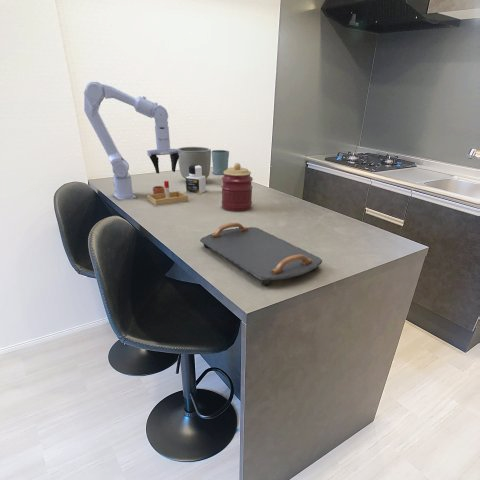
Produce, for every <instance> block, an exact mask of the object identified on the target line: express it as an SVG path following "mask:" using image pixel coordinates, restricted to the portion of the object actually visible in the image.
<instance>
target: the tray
mask: <svg viewBox="0 0 480 480" xmlns="http://www.w3.org/2000/svg"><path fill="white" fill-rule="evenodd" d="M169 195H170V198H167V199H166V194H165V193H160V194H153V193H151V194H147V201H149V202H150V203H152V204H153V205H155V206H162V205H167V204H175V203H181V202H183V203H184V202H188V201H189V199H188V198H189V197H188V195H187V194H184V193H183V192H181V191H179V190H178V191H177V190H176V191H169Z"/></svg>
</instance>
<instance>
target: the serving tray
mask: <svg viewBox="0 0 480 480" xmlns="http://www.w3.org/2000/svg"><path fill="white" fill-rule="evenodd" d="M199 242H200V243H201V244H203V247H204V248H205V249H211V250H212V251H214V252H216V253H217V254H219V255H220V256H222V257H224V258H225V259H226V260H228V261H230V262H232V264H234V265H236V266H238V267H239V268H241V269H242V270H244V271H245V272H247V273H249V274H250V275H252V276H254V277H255V278H257V279H258V280H259V281H261V283H262V286H263V287H268V286H269V285H270V284H271V281H277V280H283V279H284V280H285V279H289V278H294V277H297V276H301V275H305V274H307V273H309V272H311V271H317V270H318V269H319V266H320V265H321V264H322V263H323V259H322V258H321V257H319V256H317V255H315V254H313V253H310V252H308V251H306V250H305V249H302V248H301V247H299V246H296V245H293V243H290V242H288V241H286V240H284V239H282V238H279V237H278V236H276V235H274V234H271V233H269V232H267V231H265V230H263V229H260V228H259V227H254V226H249V227H247V226H243V225H242V224H241V223H239V222H229V223H224V224H223V225H220V226H219V227H218V228H216V230H215V231H214V232H213V233H210V234H208V235H205V236H203V237H201V238H200V239H199Z"/></svg>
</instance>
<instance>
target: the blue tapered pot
mask: <svg viewBox="0 0 480 480" xmlns="http://www.w3.org/2000/svg"><path fill="white" fill-rule="evenodd" d="M229 157H230V151H229V150H224V149H213V150H211V163H212V173H213V174H214V175H216V176H224V175H225V174H224V171H225V170H227V169H228V168H229Z"/></svg>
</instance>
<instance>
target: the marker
mask: <svg viewBox="0 0 480 480" xmlns="http://www.w3.org/2000/svg"><path fill="white" fill-rule="evenodd" d="M169 182H170V181H169V180H164V181H163V185H164V186H163V187H165V194H166V199H167V198H170V195H169V192H170V184H169Z"/></svg>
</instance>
